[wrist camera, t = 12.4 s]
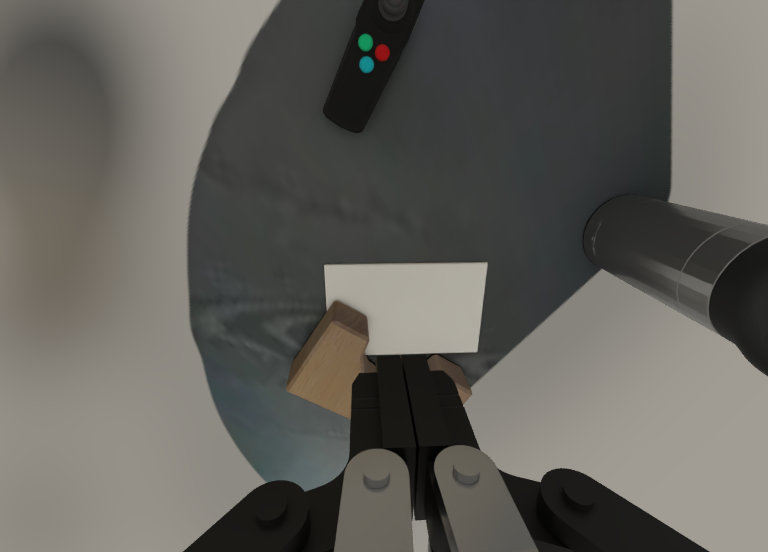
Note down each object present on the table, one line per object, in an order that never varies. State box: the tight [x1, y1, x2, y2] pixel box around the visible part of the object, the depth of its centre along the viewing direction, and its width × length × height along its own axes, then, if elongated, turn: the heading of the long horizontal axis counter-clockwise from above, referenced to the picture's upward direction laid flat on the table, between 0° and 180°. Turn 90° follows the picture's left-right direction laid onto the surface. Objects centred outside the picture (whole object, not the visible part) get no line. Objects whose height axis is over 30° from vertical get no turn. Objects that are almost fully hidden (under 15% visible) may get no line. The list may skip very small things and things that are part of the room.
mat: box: [324, 262, 487, 355], centre depth 46 cm, size 20×12×1 cm, turn 90°
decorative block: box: [286, 301, 472, 419], centre depth 46 cm, size 11×6×20 cm
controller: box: [323, 0, 424, 133], centre depth 32 cm, size 4×12×10 cm, turn 153°
